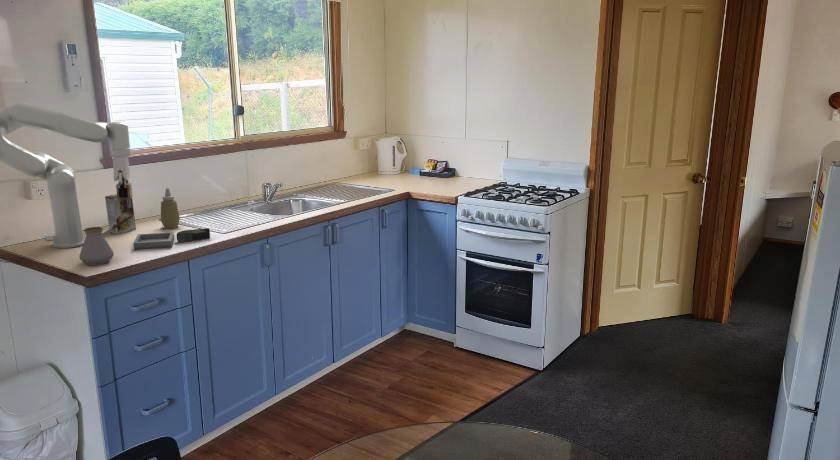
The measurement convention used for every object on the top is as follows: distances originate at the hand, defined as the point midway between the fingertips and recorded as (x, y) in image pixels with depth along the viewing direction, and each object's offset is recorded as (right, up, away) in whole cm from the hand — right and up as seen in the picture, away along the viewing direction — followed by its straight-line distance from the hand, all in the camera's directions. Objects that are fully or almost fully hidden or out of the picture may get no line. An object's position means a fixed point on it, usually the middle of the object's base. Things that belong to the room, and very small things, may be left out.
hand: (124, 195), depth 258 cm
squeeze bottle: (+10, -13, +23) cm, 28 cm away
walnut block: (0, -1, 0) cm, 1 cm away
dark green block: (+28, -19, +2) cm, 34 cm away
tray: (+14, -20, -4) cm, 25 cm away
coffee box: (-9, -15, +16) cm, 24 cm away
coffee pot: (+6, -26, -23) cm, 35 cm away
